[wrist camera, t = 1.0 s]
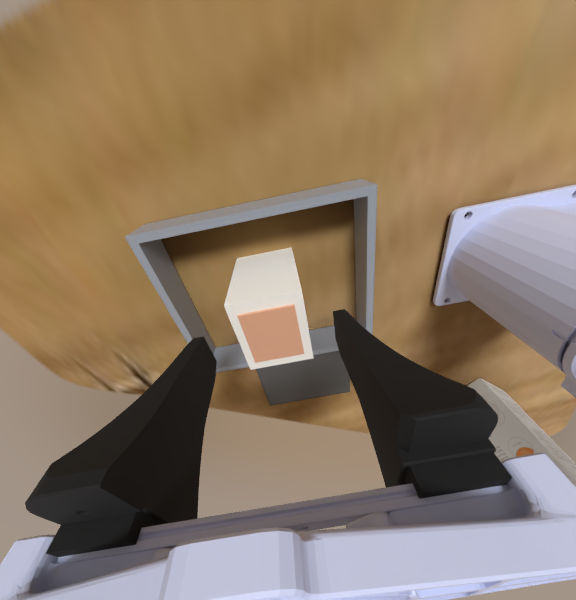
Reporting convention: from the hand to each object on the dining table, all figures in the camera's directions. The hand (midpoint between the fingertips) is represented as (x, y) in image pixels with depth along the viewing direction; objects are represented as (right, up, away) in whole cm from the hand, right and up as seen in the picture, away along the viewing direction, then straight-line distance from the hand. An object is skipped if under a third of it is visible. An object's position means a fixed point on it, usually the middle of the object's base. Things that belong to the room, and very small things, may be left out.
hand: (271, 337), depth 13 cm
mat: (+3, -5, +11) cm, 13 cm away
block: (0, +3, +5) cm, 6 cm away
